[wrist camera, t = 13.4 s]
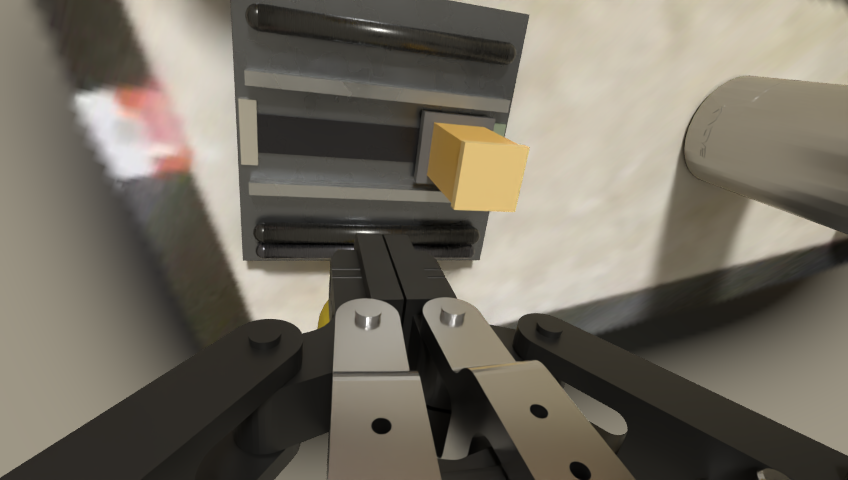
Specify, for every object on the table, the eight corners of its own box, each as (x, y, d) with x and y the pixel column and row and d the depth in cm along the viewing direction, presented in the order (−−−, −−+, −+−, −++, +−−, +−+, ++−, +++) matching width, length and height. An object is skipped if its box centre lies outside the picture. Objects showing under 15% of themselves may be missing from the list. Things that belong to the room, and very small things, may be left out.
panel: (519, 15, 29) (539, 13, 27) (473, 251, 36) (485, 268, 34) (232, -35, 24) (224, -44, 22) (245, 251, 31) (240, 270, 29)
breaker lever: (491, 117, 30) (541, 139, 23) (478, 183, 32) (522, 220, 25) (422, 110, 28) (456, 131, 22) (413, 179, 30) (442, 217, 24)
